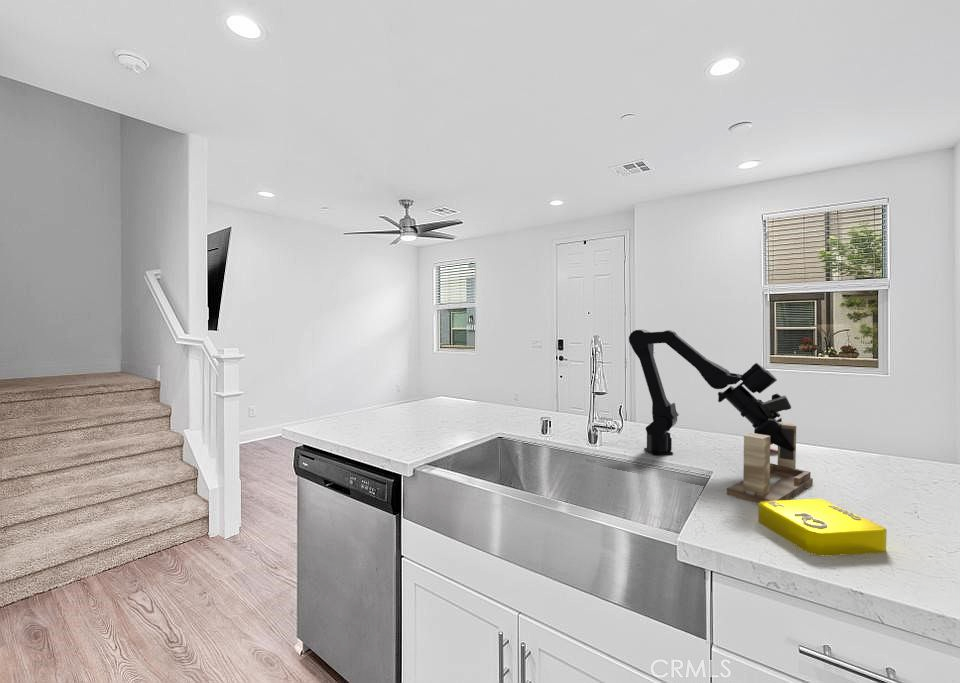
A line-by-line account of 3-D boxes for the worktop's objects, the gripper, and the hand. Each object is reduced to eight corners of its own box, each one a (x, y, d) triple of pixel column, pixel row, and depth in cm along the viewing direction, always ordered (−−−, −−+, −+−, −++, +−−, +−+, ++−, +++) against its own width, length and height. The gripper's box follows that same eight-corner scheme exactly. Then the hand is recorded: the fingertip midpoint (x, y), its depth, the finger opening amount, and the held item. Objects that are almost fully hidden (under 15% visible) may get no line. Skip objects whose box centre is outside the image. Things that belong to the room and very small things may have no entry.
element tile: (892, 554, 79) (893, 527, 79) (814, 558, 78) (814, 531, 77) (820, 517, 94) (821, 495, 94) (753, 521, 92) (753, 498, 92)
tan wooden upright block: (777, 467, 125) (778, 421, 125) (794, 470, 123) (795, 423, 123) (777, 472, 121) (778, 424, 121) (795, 475, 119) (796, 426, 119)
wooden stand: (774, 508, 98) (775, 442, 97) (726, 494, 106) (727, 433, 105) (812, 484, 112) (813, 426, 112) (768, 473, 120) (769, 420, 120)
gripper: (770, 389, 116) (822, 437, 110) (771, 381, 131) (817, 423, 125) (734, 416, 120) (783, 463, 115) (739, 405, 136) (783, 447, 130)
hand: (793, 448), depth 121 cm, fingers closed on tan wooden upright block, 5 cm apart
